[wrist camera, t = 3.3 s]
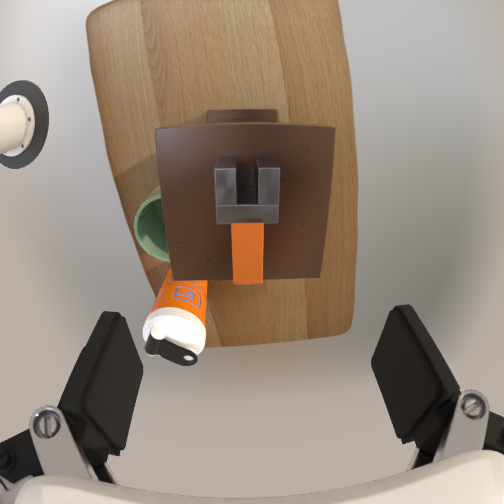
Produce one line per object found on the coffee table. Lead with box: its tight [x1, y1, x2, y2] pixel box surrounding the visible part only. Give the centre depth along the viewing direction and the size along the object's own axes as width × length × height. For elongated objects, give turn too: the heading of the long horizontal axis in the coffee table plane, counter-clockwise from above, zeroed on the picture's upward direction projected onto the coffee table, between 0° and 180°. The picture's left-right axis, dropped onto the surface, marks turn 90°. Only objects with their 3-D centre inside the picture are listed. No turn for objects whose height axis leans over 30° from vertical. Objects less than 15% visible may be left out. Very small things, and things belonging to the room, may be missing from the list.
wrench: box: [214, 156, 280, 284], centre depth 16 cm, size 6×3×3 cm, turn 0°
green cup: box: [134, 184, 170, 262], centre depth 43 cm, size 10×10×10 cm
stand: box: [155, 109, 336, 281], centre depth 30 cm, size 10×10×29 cm
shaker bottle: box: [143, 266, 208, 366], centre depth 45 cm, size 9×9×20 cm
